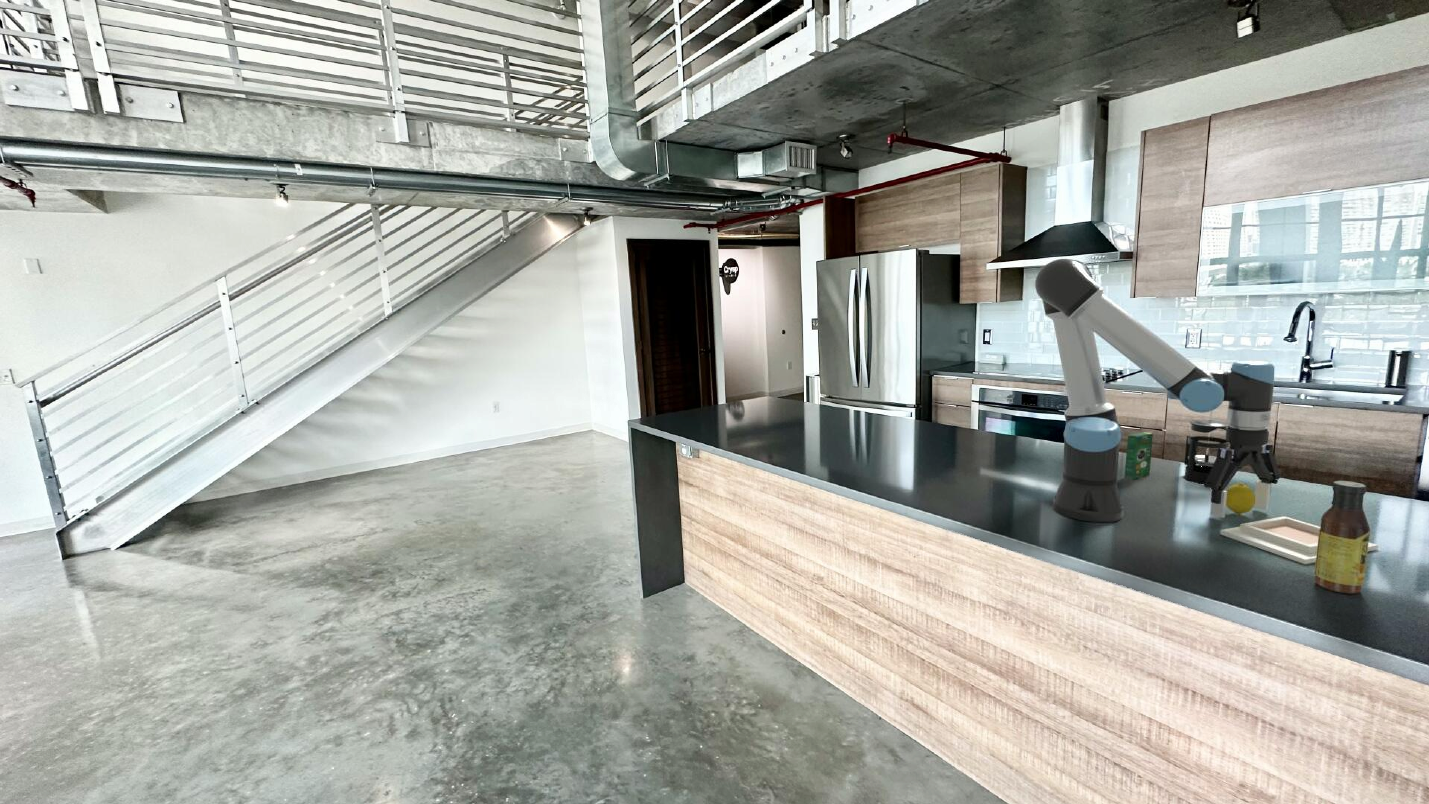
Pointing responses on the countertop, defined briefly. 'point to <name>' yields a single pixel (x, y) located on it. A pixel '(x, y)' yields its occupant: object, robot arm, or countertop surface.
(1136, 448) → the coffee box
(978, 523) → the countertop surface
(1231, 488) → the lemon
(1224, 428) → the french press
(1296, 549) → the tray
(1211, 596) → the countertop surface
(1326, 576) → the sauce bottle
